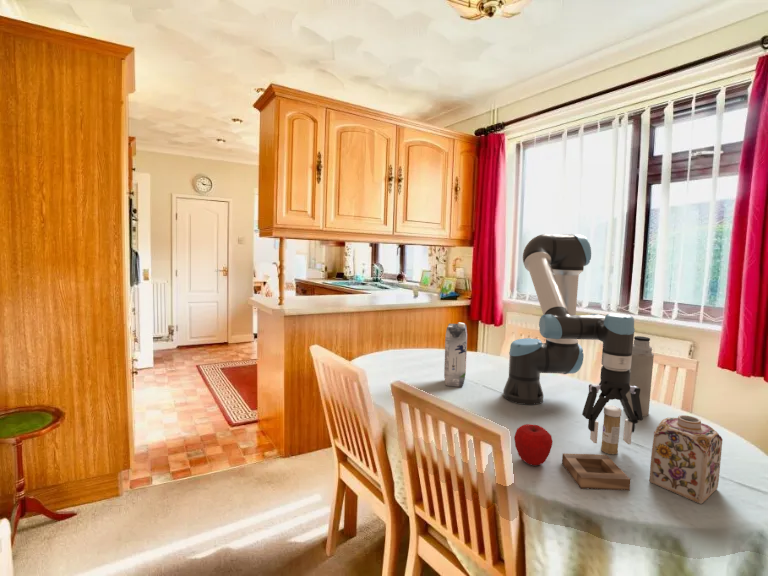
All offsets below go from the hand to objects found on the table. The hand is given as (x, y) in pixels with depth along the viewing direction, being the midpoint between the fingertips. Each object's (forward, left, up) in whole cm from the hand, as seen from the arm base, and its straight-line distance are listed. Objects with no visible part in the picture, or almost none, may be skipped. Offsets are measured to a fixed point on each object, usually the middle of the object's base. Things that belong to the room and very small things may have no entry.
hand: (610, 441), depth 123 cm
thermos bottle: (-31, +25, -3) cm, 40 cm away
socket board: (+14, -11, -3) cm, 18 cm away
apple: (+8, -25, -3) cm, 27 cm away
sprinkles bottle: (0, 0, -3) cm, 3 cm away
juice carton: (-57, -38, -3) cm, 69 cm away
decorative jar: (+17, +10, -3) cm, 20 cm away
